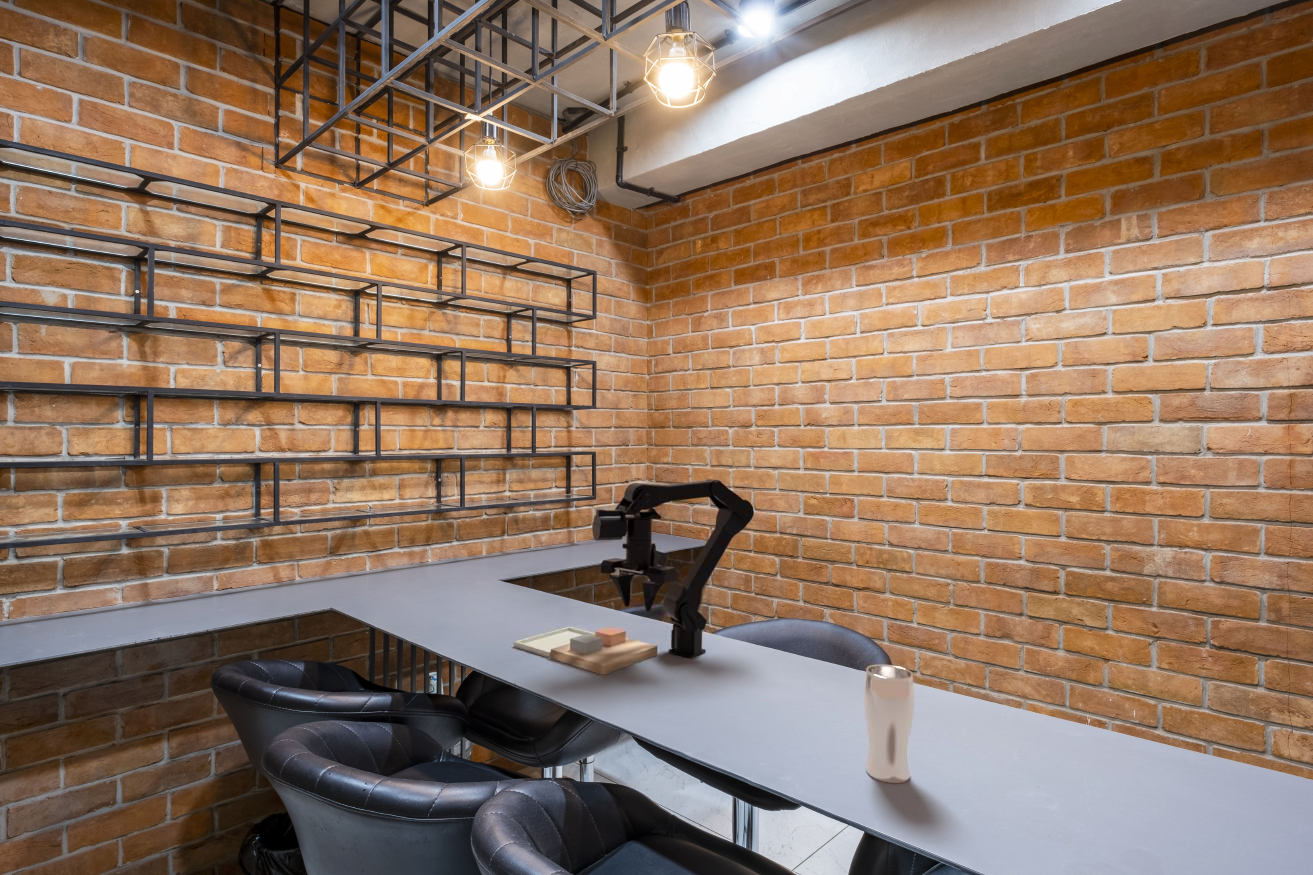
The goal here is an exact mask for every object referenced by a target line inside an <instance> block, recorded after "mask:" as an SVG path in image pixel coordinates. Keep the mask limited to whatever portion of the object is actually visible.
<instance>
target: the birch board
mask: <svg viewBox="0 0 1313 875" xmlns="http://www.w3.org/2000/svg"><path fill="white" fill-rule="evenodd" d="M655 656H658V645H655V644H651V643H646V642H643V641H639V640H636V639H631V638H628V637H626V642H624V643H621V644H617V645H614V646H607V645H603V644H602V650H599V651H596V652H593V653H590V654H587V655H585V654H582V653H579V652H575V651H572V650H570V644H567V645H563V646H560V647H556V648H553V649H551V657H550V659H551V660H555V661H557V662H561V663H564V664H568V665H570V666H573V667H577V668H581V669H583V670H587V671H590V672H592V673H593V672H594V673H596V674H600V675H603V676H604V675H606V674H609V673H612V672H615V671H618V670H620V669H623V668H625V667H629V666H631V665H633V664H636V663H640V662H642V661H644V660H648V659H650V658H653V657H655Z"/></svg>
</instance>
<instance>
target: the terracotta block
mask: <svg viewBox="0 0 1313 875" xmlns="http://www.w3.org/2000/svg"><path fill="white" fill-rule="evenodd" d="M594 633H595V637H599V638H602V644H603V645H607V646H614V645H617V644H621V643H624V642H626V638H627V637H626V634H627V633H626V630H623V629H620V628H614V627H605V628H601V629H598V630H596V631H594Z"/></svg>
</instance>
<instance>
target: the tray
mask: <svg viewBox="0 0 1313 875" xmlns="http://www.w3.org/2000/svg"><path fill="white" fill-rule="evenodd" d="M584 634H588V635H592V636H595V632H592V631H587V630H584V629H580V628H577V627H574V626H573V627H572V626H567V627H563V628H558V629H556V630H552V631H547V632H545V633H541V634H537V635H533V636H530V637H527V638H522V639H519V640H515V641H513V648H516V649H520V650H523V651H525V652H530V653H531V654H536V655H539V656H542V657H546V658H548V659H549V658H550V657H551V649H553V648H556V647H560V646H563V645H567V644H570V639H571V638H574V637H578V636H581V635H584ZM550 659H551V658H550Z"/></svg>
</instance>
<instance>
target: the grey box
mask: <svg viewBox="0 0 1313 875" xmlns="http://www.w3.org/2000/svg"><path fill="white" fill-rule="evenodd" d="M570 650H572V651H575V652H579V653H582V654H585V655H587V654H590V653H593V652H596V651H599V650H602V638H599V637H595V636H592V635H588V634H584V635H581V636H578V637H574V638H571V639H570Z"/></svg>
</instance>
